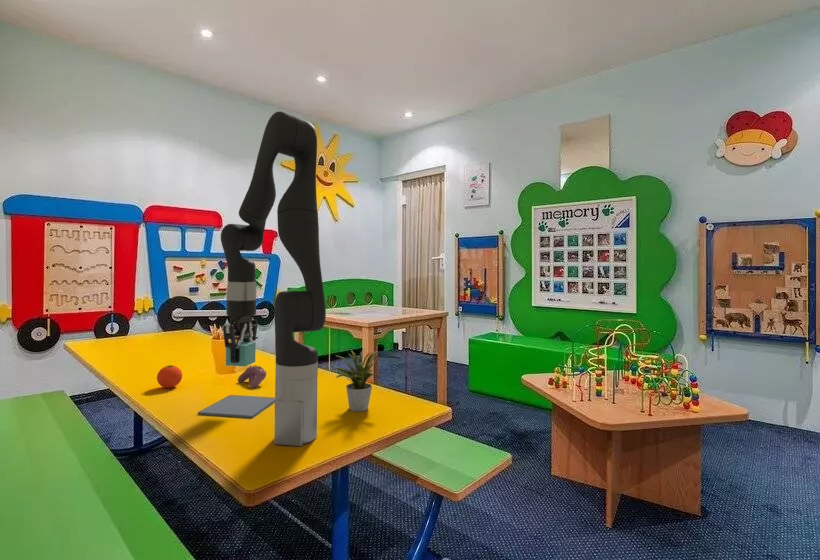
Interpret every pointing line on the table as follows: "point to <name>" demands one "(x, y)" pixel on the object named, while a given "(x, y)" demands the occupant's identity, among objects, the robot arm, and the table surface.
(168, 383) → the tomato
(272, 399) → the slate mat
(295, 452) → the table surface
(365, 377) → the house plant
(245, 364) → the teal cube
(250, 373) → the video game controller
